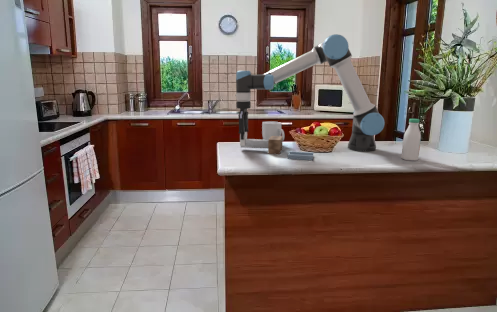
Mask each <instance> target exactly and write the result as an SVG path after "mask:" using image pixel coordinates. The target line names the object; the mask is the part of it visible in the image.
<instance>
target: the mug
mask: <svg viewBox="0 0 497 312" xmlns="http://www.w3.org/2000/svg"><path fill="white" fill-rule="evenodd" d="M261 126H262V127H261V129H262V131H261V134H262V140H268V139H269V138H270V137H271V136H283V141H284V140H285V131H284V129H282V122H278V121H272V120H271V121H262V124H261Z"/></svg>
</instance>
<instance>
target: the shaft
mask: <svg viewBox="0 0 497 312" xmlns="http://www.w3.org/2000/svg"><path fill="white" fill-rule="evenodd" d="M240 148H245V149H246V148H249V149H250V148H251V149H268V140H263V138H262V139H260V138H259V139H257V138H256V139H255V138H247V139H245V146H240Z"/></svg>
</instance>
